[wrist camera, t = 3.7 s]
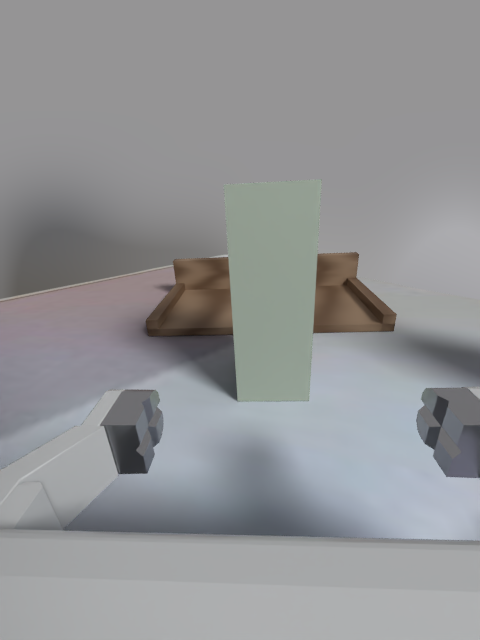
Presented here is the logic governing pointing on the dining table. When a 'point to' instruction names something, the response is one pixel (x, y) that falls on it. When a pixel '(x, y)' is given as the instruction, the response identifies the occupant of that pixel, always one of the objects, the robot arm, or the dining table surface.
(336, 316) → the tray
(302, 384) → the sage block
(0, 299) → the dining table surface
